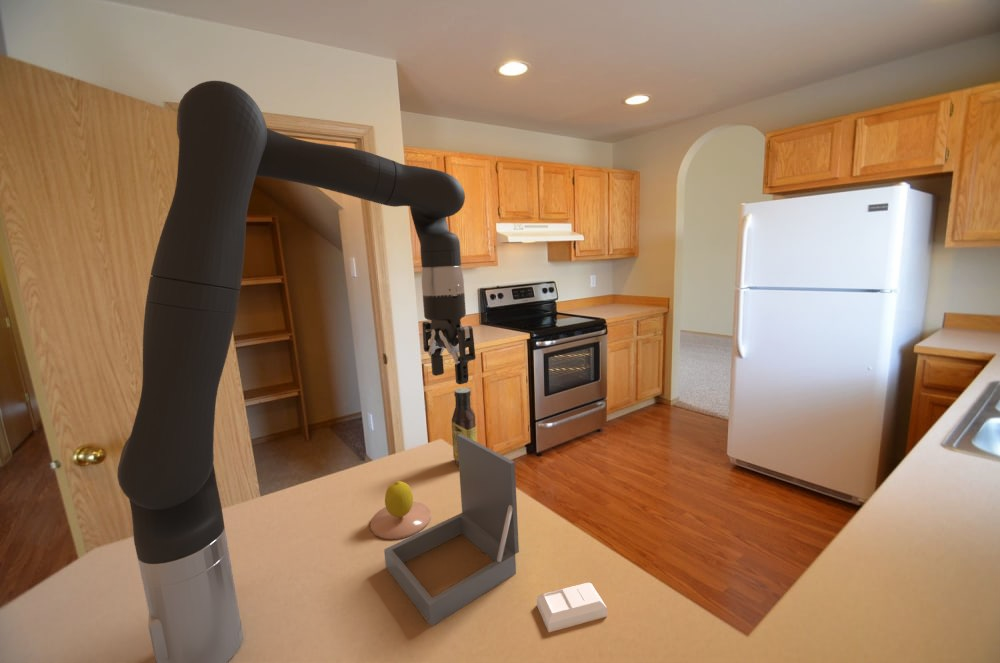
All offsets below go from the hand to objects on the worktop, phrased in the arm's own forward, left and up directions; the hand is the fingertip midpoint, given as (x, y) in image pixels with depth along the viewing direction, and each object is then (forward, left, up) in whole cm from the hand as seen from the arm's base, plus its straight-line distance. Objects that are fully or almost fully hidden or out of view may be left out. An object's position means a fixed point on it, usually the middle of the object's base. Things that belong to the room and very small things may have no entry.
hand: (449, 378), depth 79 cm
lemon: (-8, +10, -30) cm, 32 cm away
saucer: (-8, +10, -30) cm, 33 cm away
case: (-8, -9, -30) cm, 33 cm away
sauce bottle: (+16, +22, -30) cm, 41 cm away
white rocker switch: (+1, -28, -31) cm, 42 cm away
